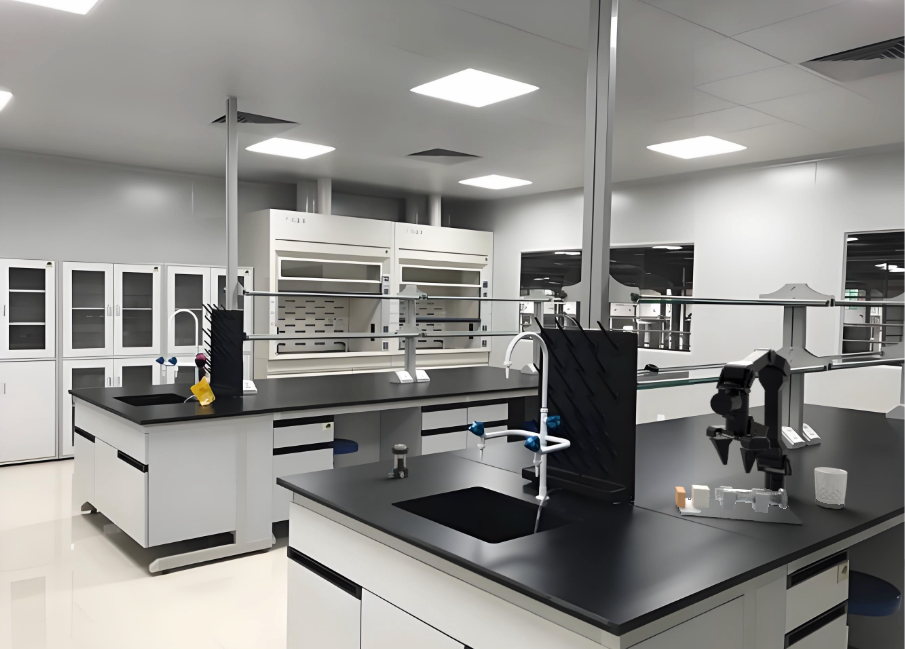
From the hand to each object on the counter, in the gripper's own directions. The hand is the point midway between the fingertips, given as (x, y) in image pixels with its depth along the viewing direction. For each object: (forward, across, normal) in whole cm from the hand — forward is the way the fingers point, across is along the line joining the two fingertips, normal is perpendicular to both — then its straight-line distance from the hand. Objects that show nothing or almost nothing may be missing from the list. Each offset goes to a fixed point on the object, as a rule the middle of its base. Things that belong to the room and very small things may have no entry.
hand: (736, 468), depth 178 cm
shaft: (+9, -2, -3) cm, 10 cm away
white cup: (+12, 0, -30) cm, 33 cm away
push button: (+11, +52, +82) cm, 98 cm away
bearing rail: (+12, 0, 0) cm, 12 cm away
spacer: (+10, +4, +8) cm, 14 cm away
